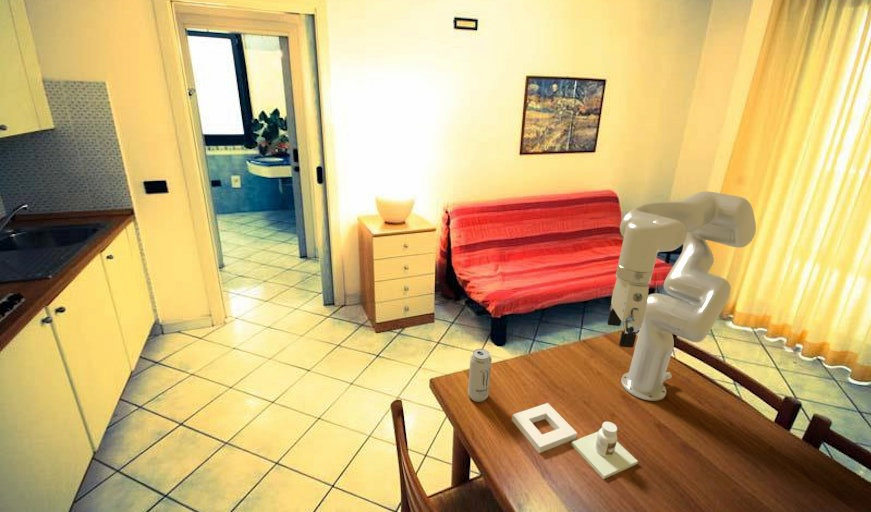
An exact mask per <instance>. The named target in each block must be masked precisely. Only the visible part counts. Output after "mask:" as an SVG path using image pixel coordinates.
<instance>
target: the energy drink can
mask: <svg viewBox="0 0 871 512" xmlns="http://www.w3.org/2000/svg"><path fill="white" fill-rule="evenodd" d="M491 371H492V356H491V353H490V352H489V351H488V350H487V349H484V348H483V349H482V348H478V349H475V350H474V351H473V352H472V354H471V356H470V361H469V373H468V387H467V394H468V397H469V398H470V399H471V400H472V401H474V402H477V403H483V402H484V401H486V399H488V398H489V390H490V380H491Z"/></svg>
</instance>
